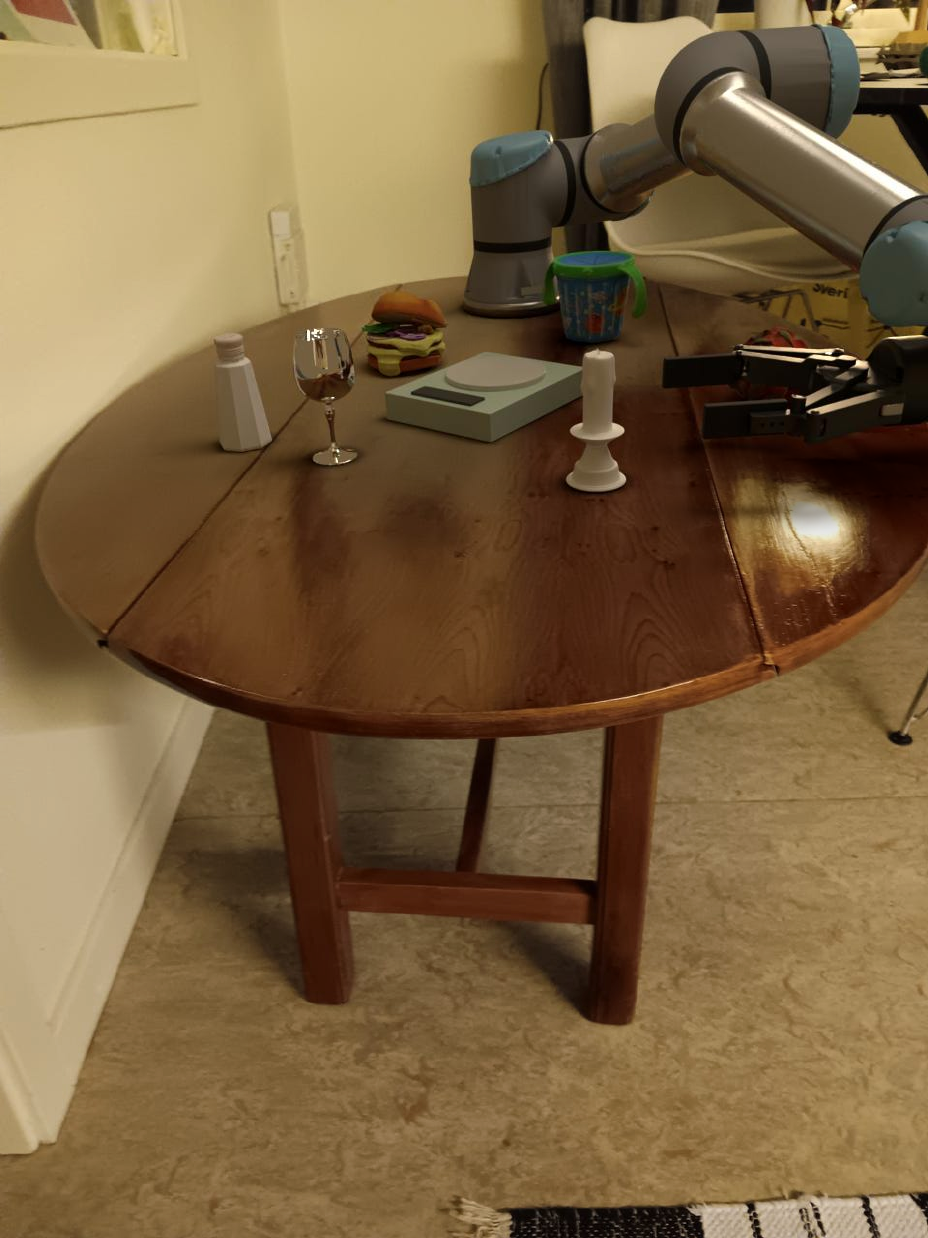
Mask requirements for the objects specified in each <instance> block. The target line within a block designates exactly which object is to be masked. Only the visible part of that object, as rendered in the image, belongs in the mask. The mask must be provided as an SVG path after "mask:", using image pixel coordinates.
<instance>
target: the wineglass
mask: <svg viewBox="0 0 928 1238" xmlns="http://www.w3.org/2000/svg"><path fill="white" fill-rule="evenodd" d="M293 339H294V340H293V349H292V371H293V378H294V381H295V384H296V387H297V389H298V390H299V392H300V393H301V394H302V395H303V396H304V397H305V398H307V399H309V400H310V401H314V402H317V403H323V404H325V406H324V415H325V418H326V421H327V424H328V428H329V438H330V445H329V448H326V449H323V450H320V451H317V452H316V453H314V454H313V455H312V461H313V462H314V463H315V464H318V465H323V466H337V465H338V466H339V465H344V464H348V463H350V462H353V461H354V460H356V459H357V458H358V455H359V454H358V451H356V450H355V449H353V448H350V447H340V446H339V445H338V443H337V440H336V433H335V416H336V411H335V410H336V409H335V407H334V405H333V404H332V403H334V402H337V401H339V400H341V399H343V398H344V397H346V396H347V395H348V394H349V393H351V391H352V389H353V387H354V385H355V381H356V365H355V359H354V355H353V351H352V348H351V345H350V341H349V339H348V336H347V333H346V331H345V330H344V329H341V328H337V327H318V328H311V329H305V330H302V331H299V332H297V333H295V335H294V338H293Z"/></svg>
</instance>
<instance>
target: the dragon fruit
mask: <svg viewBox="0 0 928 1238" xmlns="http://www.w3.org/2000/svg"><path fill="white" fill-rule="evenodd" d="M742 345H748V346H765V347H782V348H799V349H811V348H810V346H809V344H808V343H807V342H806V341H805V340H804V339H802V338H801V339H800V338H797V339H796V338H795V334H794V332H793V331H792V330H791V329H789V328H785V327H783V326H777V325H776V326H773V327H772V328H771V329H764V330H762V331H758V332H757V333H755V334H754V335H752V336H750V337H749V339H747V340H746V341H745V342H743V344H742ZM745 365H747V361H746V360H745ZM727 386H728V387H729V389H732V390H734V392H735V393H736V394H737V395H738V396H739V397H740V398H742V400H744V401H758V400H773V399H785V400H787V401H788V404H791V398H792V395H794V397H796V395H798V396H802V397H804V395H802V394H801V393H800V391H799V390H798V389H793V388H787V387H780V386H773V385H766V384H759V383H753V382H746V381H738V384H737V385H736V386H735V387H730V386H729V385H727Z"/></svg>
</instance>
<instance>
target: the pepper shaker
mask: <svg viewBox="0 0 928 1238" xmlns="http://www.w3.org/2000/svg"><path fill="white" fill-rule="evenodd" d="M243 341H244V336H243V335H242V334H240V333H237V332H226V333H222V334H219V335H217V336H215V337H213V343H214V345H215V350H216V351H215V352H216V354H217V359H218V360H216V361H215V362H213V375H214V376H213V377H214V389H215V400H216V413H217V427H218V439H219V445H221V447H222V448H223V450H224V451H227V452H239V453H244V452H249V451H255V450H260V449H262V448H264V447H265V446H267V445H268V444H270V443H272V440H273V438H272V435H271V432H270V428H269V423H268V419H267V415H266V411H265V408H264V405H263V401H262V397H261V393H260V390H259V385H258V382H257V379H256V375H255V370H254V367H253V364H252V361H251V360H250V359H249V358H248V357H246V356H245V353H244V352H245V349H244V344H243Z"/></svg>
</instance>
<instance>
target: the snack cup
mask: <svg viewBox="0 0 928 1238" xmlns="http://www.w3.org/2000/svg"><path fill="white" fill-rule="evenodd" d="M635 263H636V258H635V256H634V255H633V254H631V253H628V252H625V251H618V250H617V251H616V250H590V251H578V252H570V253H565V254H562V255H559V256H557V257H554V260H553V262H552V263H551V264H550V265H549V267H548V268H547V271H546V274H545V278H544V284H543V294H542V297H543V301H544V303H545V304H546V305H547V306H550V305H553V304H554V303H555V302H556V300H557V299H556V292H555V286H554V277H555V276H556V279H557V287H558V294H559V299H560V308H559V310H560V314H561V321H562V327H563V333H564V335H565V338H566V340H571V341H573V342H576V343H588V344H592V343H593V344H594V343H602V342H608V341H613V340H616V339H617V338H618V337H619V336H620V335H621V333H622V329H623V324H624V320H625V313H626V306H627V302H628V294H629V288H630V281H632V286H633V290H634V296H635V298H634V303H633V307H632V313H631V317H632V318H633V319H635V320H637V319H640V318H642V317H643V316H644V314H645V313H646V310H647V307H648V297H647V288H646V284H645V280H644V277H643V275H642V272H641V270H640V269H639V268H638V266H636V264H635Z"/></svg>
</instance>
